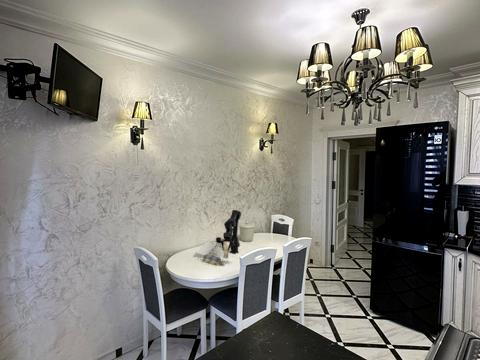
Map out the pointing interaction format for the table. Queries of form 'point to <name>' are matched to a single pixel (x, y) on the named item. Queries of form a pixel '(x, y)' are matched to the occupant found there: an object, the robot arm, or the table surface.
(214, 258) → the ridge rail
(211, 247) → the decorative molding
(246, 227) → the canister
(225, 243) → the maple post
